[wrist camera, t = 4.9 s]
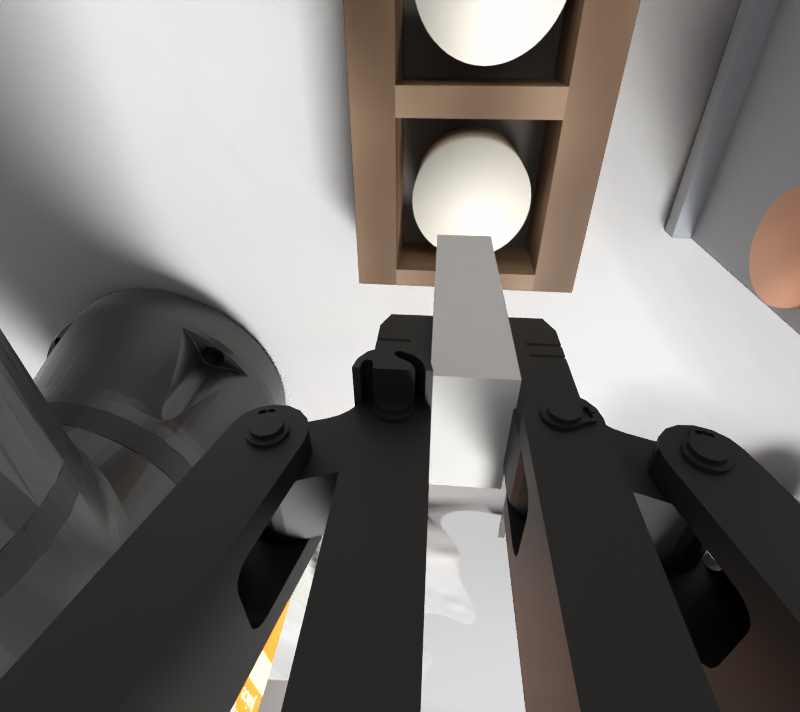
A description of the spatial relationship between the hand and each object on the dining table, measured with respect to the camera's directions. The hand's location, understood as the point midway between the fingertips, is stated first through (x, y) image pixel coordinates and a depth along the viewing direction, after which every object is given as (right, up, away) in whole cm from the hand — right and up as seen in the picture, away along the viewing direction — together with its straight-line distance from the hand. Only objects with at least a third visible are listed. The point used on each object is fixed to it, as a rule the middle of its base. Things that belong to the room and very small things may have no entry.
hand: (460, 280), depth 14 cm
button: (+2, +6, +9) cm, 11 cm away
